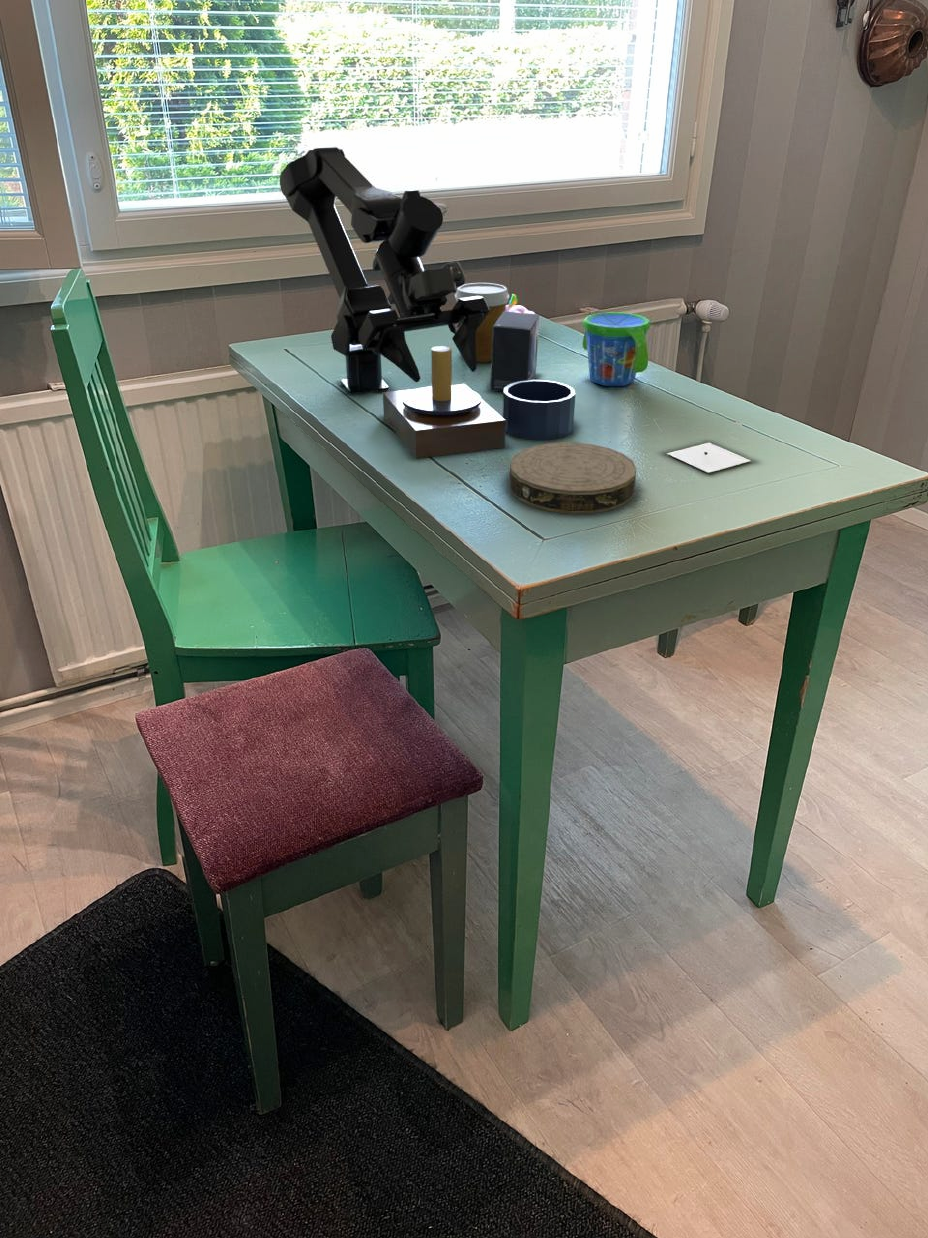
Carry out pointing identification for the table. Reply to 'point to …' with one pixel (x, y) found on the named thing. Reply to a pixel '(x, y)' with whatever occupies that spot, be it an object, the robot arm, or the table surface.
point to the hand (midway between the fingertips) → (446, 375)
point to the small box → (514, 349)
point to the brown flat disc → (572, 477)
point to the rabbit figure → (516, 308)
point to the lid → (441, 390)
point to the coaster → (708, 457)
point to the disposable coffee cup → (497, 305)
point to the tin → (538, 409)
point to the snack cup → (615, 347)
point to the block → (444, 428)
